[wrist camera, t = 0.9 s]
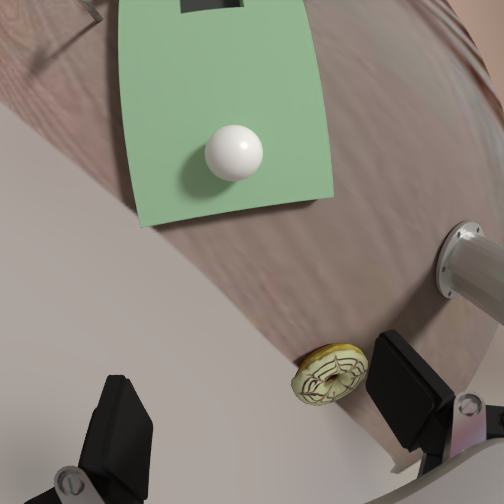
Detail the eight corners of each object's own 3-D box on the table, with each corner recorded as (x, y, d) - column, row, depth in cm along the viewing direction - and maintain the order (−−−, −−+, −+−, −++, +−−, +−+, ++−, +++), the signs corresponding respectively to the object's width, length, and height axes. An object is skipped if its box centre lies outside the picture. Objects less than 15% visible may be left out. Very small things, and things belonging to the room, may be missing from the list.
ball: (254, 125, 22) (264, 117, 18) (260, 175, 23) (271, 179, 19) (201, 132, 21) (199, 125, 17) (209, 183, 23) (208, 188, 19)
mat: (282, -39, 17) (294, -63, 12) (324, 193, 27) (348, 201, 22) (126, -23, 15) (115, -46, 10) (146, 221, 25) (132, 236, 20)
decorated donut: (274, 381, 35) (280, 401, 31) (325, 326, 33) (337, 343, 29) (324, 398, 38) (332, 415, 35) (371, 351, 36) (383, 366, 33)
